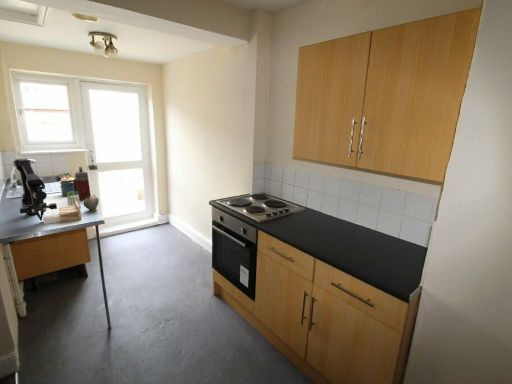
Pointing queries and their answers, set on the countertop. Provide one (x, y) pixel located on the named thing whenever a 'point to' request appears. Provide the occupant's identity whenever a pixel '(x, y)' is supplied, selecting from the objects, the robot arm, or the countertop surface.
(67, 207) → the wooden crate
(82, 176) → the dark red tall piece
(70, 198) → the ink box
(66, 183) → the canister
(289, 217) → the countertop surface
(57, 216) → the white long block
